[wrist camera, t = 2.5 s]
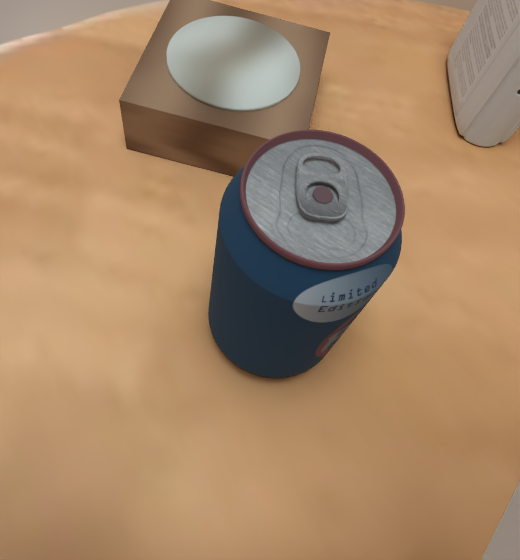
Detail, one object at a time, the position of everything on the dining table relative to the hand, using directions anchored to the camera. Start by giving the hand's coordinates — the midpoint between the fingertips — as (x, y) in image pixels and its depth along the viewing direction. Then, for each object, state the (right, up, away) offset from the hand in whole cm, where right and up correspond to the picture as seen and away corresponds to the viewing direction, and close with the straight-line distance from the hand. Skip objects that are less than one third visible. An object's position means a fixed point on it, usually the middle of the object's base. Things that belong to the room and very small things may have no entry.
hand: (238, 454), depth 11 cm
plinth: (-2, +16, +23) cm, 28 cm away
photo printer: (+17, +18, +27) cm, 37 cm away
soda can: (+1, +2, +16) cm, 16 cm away
